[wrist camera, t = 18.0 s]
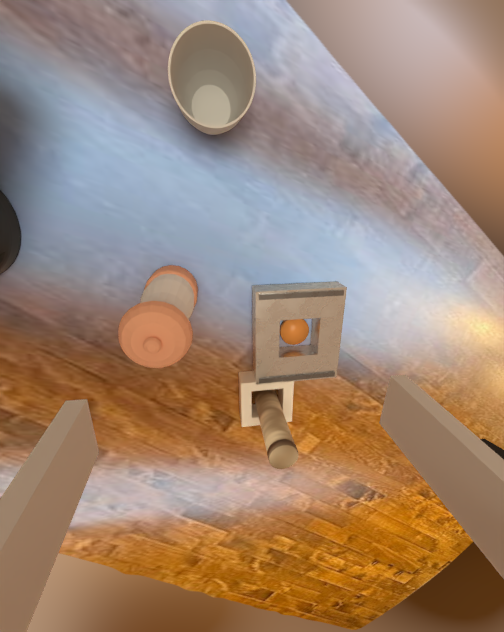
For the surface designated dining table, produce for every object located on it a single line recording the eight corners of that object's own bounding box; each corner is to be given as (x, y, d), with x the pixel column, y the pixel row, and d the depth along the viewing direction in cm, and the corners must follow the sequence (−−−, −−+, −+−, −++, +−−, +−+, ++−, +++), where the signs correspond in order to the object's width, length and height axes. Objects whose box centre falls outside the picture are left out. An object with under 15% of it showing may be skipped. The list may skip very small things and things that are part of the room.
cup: (252, 89, 36) (269, 51, 27) (230, 157, 38) (237, 143, 29) (189, 54, 34) (183, -1, 25) (169, 128, 36) (157, 103, 27)
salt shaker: (163, 255, 42) (133, 294, 24) (207, 282, 44) (207, 335, 27) (139, 296, 43) (93, 360, 26) (182, 319, 46) (167, 394, 28)
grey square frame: (252, 373, 51) (256, 385, 48) (252, 285, 45) (255, 292, 42) (328, 366, 53) (336, 378, 50) (337, 281, 47) (347, 287, 44)
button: (279, 343, 50) (280, 345, 49) (279, 317, 48) (281, 319, 47) (306, 341, 50) (307, 343, 49) (307, 315, 49) (309, 317, 48)
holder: (239, 413, 54) (241, 427, 51) (238, 372, 51) (240, 383, 47) (286, 408, 55) (291, 421, 52) (288, 367, 52) (294, 378, 49)
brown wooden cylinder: (252, 401, 53) (268, 471, 40) (252, 382, 52) (269, 448, 38) (274, 399, 54) (297, 467, 40) (274, 380, 53) (299, 444, 39)
